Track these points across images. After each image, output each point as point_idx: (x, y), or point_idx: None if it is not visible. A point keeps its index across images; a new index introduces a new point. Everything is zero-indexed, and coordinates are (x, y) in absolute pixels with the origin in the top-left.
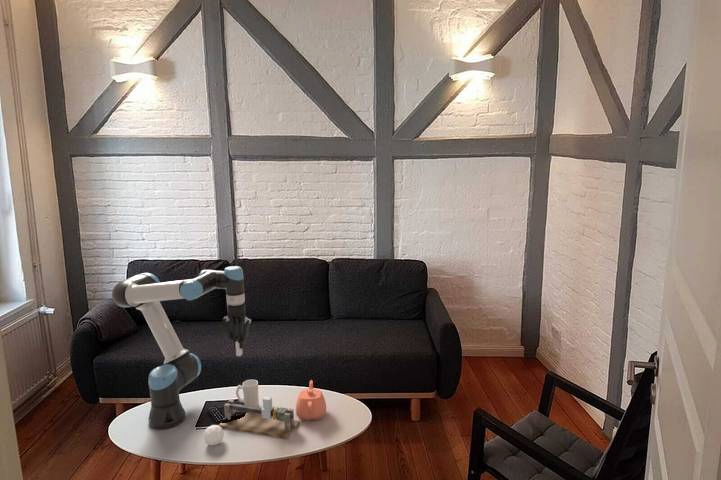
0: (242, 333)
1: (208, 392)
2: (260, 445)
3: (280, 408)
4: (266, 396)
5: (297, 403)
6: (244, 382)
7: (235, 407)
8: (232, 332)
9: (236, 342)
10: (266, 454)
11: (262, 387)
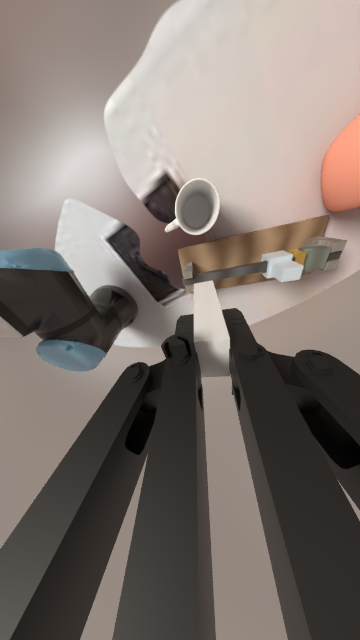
0: (311, 463)
1: (76, 207)
2: (266, 299)
3: (311, 256)
4: (287, 268)
5: (353, 197)
6: (177, 212)
7: (204, 281)
8: (126, 449)
9: (211, 373)
10: (281, 310)
11: (153, 72)
